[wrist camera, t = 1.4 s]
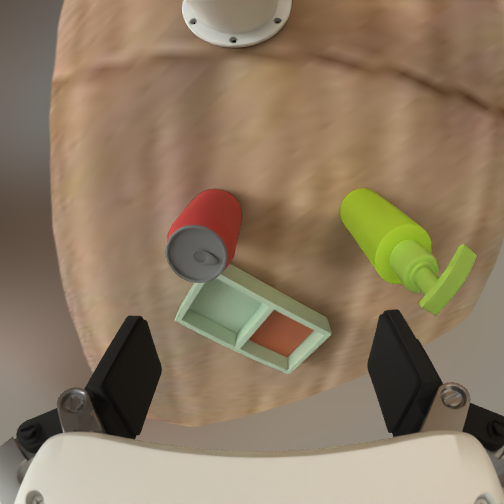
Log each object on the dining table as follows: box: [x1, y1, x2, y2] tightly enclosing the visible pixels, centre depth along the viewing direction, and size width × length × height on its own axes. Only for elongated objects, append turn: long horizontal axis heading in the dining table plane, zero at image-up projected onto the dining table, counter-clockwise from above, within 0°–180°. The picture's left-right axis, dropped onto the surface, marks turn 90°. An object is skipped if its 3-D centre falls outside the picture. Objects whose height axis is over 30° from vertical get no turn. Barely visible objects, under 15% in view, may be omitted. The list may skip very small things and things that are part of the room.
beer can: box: [166, 189, 242, 283], centre depth 31 cm, size 7×7×12 cm
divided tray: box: [175, 264, 332, 374], centre depth 40 cm, size 19×10×4 cm, turn 58°
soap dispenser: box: [340, 188, 476, 316], centre depth 26 cm, size 6×7×20 cm
